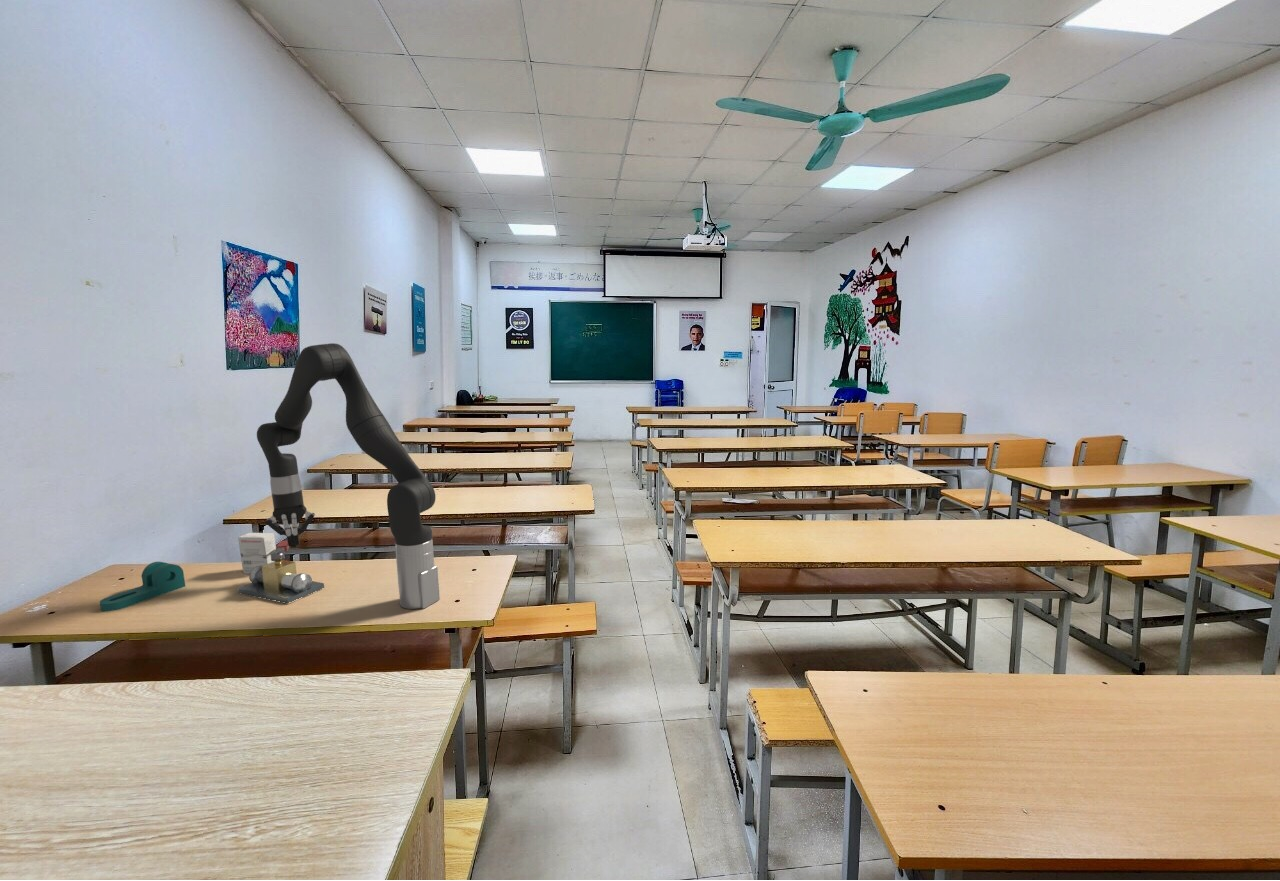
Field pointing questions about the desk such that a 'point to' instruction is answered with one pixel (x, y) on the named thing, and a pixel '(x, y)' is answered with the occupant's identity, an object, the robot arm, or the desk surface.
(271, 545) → the ink box
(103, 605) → the bracket
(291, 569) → the valve pipe
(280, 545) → the valve lever
